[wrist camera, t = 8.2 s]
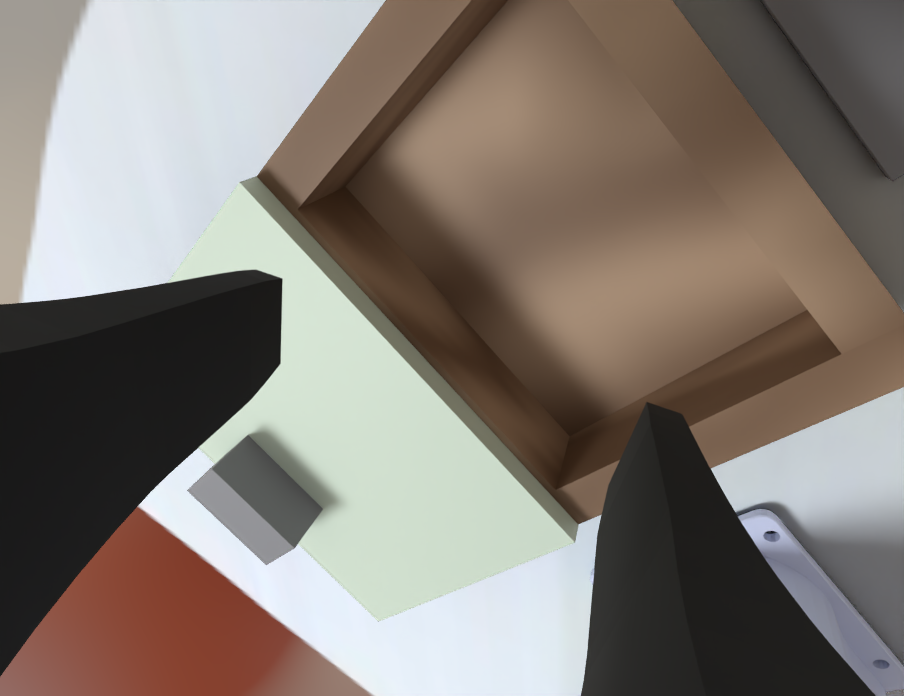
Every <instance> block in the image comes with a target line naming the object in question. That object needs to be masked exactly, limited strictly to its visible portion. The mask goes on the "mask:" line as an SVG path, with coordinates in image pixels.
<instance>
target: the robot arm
mask: <svg viewBox="0 0 904 696" xmlns="http://www.w3.org/2000/svg"><path fill="white" fill-rule="evenodd" d="M282 282H283V278H280V277H277V276H274V275H271V274H268V273H265V272H262V271H259V270H256V269H255V270H242V271H234V272H227V273H220V274H214V275H209V276H203V277H197V278H192V279H187V280H181V281H176V282H170V283H165V284H159V285H154V286H148V287H143V288H136V289H130V290H124V291H117V292H111V293H104V294H98V295H91V296H85V297H77V298H69V299H60V300H51V301H40V302H28V303H17V304H3V305H0V676H1V675H2V673H3V672H4V671H5V669H6V668H7V667H8V665H9V664H10V662H11V661H12V660H13V658H14V657H15V656H16V654H17V653H18V652H19V650H20V649H21V647H22V646H23V644H24V643H25V642H26V641H27V639H28V638H29V636H30V635H31V634H32V632H33V631H34V630H35V628H36V627H37V626H38V625H39V623H40V622H41V621H42V619H43V618H44V617H45V616H46V614H47V613H48V612H49V611H50V609H51V608H52V607H53V606H54V604H55V603H56V602H57V601H58V599H59V598H60V597H61V595H62V594H63V593H64V592H65V591H66V589H67V588H68V587H69V585H70V584H71V583H72V582H73V580H74V579H75V578H76V577H77V575H78V574H79V573H80V572H81V570H82V569H83V568H84V567H85V566H86V565H87V564H88V562H89V561H90V560H91V559H92V558H93V556H94V555H95V554H96V553H97V552H98V550H99V549H100V548H101V547H102V546H103V545H104V544H105V542H106V541H107V540H108V539H109V538H110V536H111V535H112V534H113V533H114V532H115V530H116V529H117V528H118V527H119V526H120V525H121V524H122V523H123V522H124V520H126V518H127V517H128V516H129V515H130V514H131V513H132V512H133V511H134V509H135V508H136V507H137V506H138V505H139V504H140V503H141V502H142V501H143V500H144V499H145V497H146V496H147V495H148V494H149V493H150V492H151V491H152V490H153V489H154V488H155V487H156V486H157V485H158V484H159V483H160V482H161V481H162V480H163V479H164V478H165V477H166V476H167V475H168V474H169V473H170V472H172V471H173V470H174V469H175V468H176V467H177V466H178V465H179V464H181V463H182V462H183V461H184V460H185V459H186V458H187V457H188V456H190V455H191V454H192V453H193V452H194V451H195V450H196V449H197V448H198V447H200V446H201V445H202V444H203V443H204V442H205V441H206V440H207V439H209V438H210V437H211V436H212V435H213V434H214V433H215V432H216V431H218V430H219V429H220V428H221V427H222V426H223V425H224V424H225V423H226V422H227V421H229V420H230V419H231V418H232V417H233V416H234V415H235V414H236V413H237V412H238V411H240V410H241V409H242V408H243V407H244V406H245V405H246V404H247V403H248V402H249V401H250V400H251V399H252V398H253V397H254V396H255V395H256V393H257V392H258V391H259V390H260V389H261V388H262V386H263V385H264V384H265V383H266V382H267V380H268V379H269V378H270V377H271V375H272V374H273V373H274V372H275V370H276V369H277V368H278V366H279V365H280V364H281V325H282ZM767 531H775V532H776V533H774V534H769V533H765V532H767ZM590 581H591V583H592V584H593V591H592V603H591V615H590V627H589V639H588V651H587V660H586V667H585V675H584V682H583V688H582V693H581V696H887V695H886V692H889V691H895V690H901V689H904V666H903V665H902V663H901V662H900V661H899V660H898V659H897V658H896V656H895V655H894V654H893V653H892V652H891V650H890V649H889V648H888V647H887V646H886V645H885V643H884V642H883V641H882V640H881V639H880V637H879V636H878V635H877V634H876V633H875V632H874V630H873V629H872V628H871V627H870V626H869V624H868V623H867V622H866V621H865V620H864V619H863V617H862V616H861V615H860V614H859V613H858V611H857V610H856V609H855V608H854V607H853V606H852V604H851V603H850V602H849V601H848V600H847V598H846V597H845V596H844V595H843V594H842V592H841V591H840V590H839V589H838V588H837V587H836V585H835V584H834V583H833V582H832V581H831V579H830V578H829V577H828V576H827V575H826V574H825V572H824V571H823V570H822V569H821V568H820V566H819V565H818V564H817V563H816V562H815V561H814V559H813V558H812V557H811V556H810V555H809V553H808V552H807V551H806V550H805V549H804V548H803V546H802V545H801V544H800V543H799V542H798V540H797V539H796V538H795V537H794V536H793V535H792V533H791V532H790V531H789V530H788V529H787V527H786V526H785V525H784V524H783V523H782V522H781V520H780V519H779V518H778V517H777V516H776V515H775V514H774V513H773V512H771V511H769V510H766V509H757V510H753V511H750V512H748V513H745V514H742V515H739V516H737V514H736V513H735V511H734V510H733V508H732V506H731V505H730V503H729V501H728V499H727V498H726V496H725V494H724V492H723V491H722V489H721V487H720V485H719V484H718V482H717V480H716V478H715V476H714V474H713V473H712V471H711V469H710V467H709V465H708V463H707V461H706V459H705V457H704V455H703V454H702V452H701V450H700V448H699V446H698V444H697V442H696V440H695V438H694V436H693V434H692V432H691V430H690V428H689V426H688V424H687V422H686V420H685V418H684V416H683V414H681V413H678V412H675V411H672V410H669V409H666V408H663V407H660V406H658V405H655V404H652V403H649V402H646V404H645V406H644V409H643V411H642V413H641V415H640V417H639V420H638V422H637V424H636V426H635V428H634V430H633V433H632V435H631V437H630V439H629V441H628V443H627V446H626V448H625V450H624V452H623V454H622V457H621V459H620V461H619V463H618V465H617V467H616V470H615V472H614V474H613V476H612V478H611V480H610V483H609V485H608V489H607V493H606V498H605V502H604V506H603V511H602V516H601V520H600V525H599V530H598V535H597V546H596V557H595V568H594V569H593V570H592V572H591V576H590Z"/></svg>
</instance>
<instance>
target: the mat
mask: <svg viewBox="0 0 904 696" xmlns="http://www.w3.org/2000/svg"><path fill="white" fill-rule="evenodd" d="M761 2H762V3H763V5H764V6H765V7H766V9H767V10H768V12H769V13H770V14H771V16H772V17H773V19H774V20H775V21H776V23H777V24H778V26H779V27H780V28H781V30H782V31H783V33H784V34H785V35H786V37H787V38H788V40H789V41H790V42H791V44H792V45H793V47H794V48H795V49H796V51H797V52H798V54H799V55H800V56H801V58H802V59H803V61H804V62H805V63H806V65H807V66H808V68H809V69H810V71H811V72H812V73H813V75H814V76H815V78H816V79H817V80H818V82H819V83H820V85H821V86H822V87H823V89H824V90H825V92H826V93H827V94H828V96H829V97H830V99H831V100H832V101H833V103H834V104H835V106H836V107H837V108H838V110H839V111H840V113H841V114H842V115H843V117H844V118H845V120H846V121H847V122H848V124H849V125H850V127H851V128H852V129H853V131H854V132H855V134H856V135H857V136H858V138H859V139H860V141H861V142H862V144H863V145H864V146H865V148H866V149H867V151H868V152H869V153H870V155H871V156H872V158H873V159H874V160H875V162H876V163H877V165H878V166H879V167H880V169H881V170H882V172H883V173H884V174H885V176H886V177H887V178H888V179H890V180H891V181H894V180H895V179H897V178H899V177H900V176H902V175H904V0H761Z"/></svg>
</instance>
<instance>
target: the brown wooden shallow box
mask: <svg viewBox="0 0 904 696" xmlns="http://www.w3.org/2000/svg"><path fill="white" fill-rule="evenodd" d="M257 177H258V178H259V180H260V181H261V182H262V183H263V184H264V185H265V186H266V187H267V188H268V189H269V190H270V191H271V193H272V194H273V195H274V196H275V197H276V198H277V199H278V200H279V201H280V202H281V203H282V204H283V206H284V207H285V208H286V209H287V210H288V211H289V212H290V213H291V214H292V215H293V216H294V217H295V219H296V220H297V221H298V222H299V223H300V224H301V225H302V226H303V227H304V228H305V229H306V230H307V232H308V233H309V234H310V235H311V236H312V237H313V238H314V239H315V240H316V241H317V242H318V243H319V244H320V246H321V247H322V248H323V249H324V250H325V251H326V252H327V253H328V254H329V255H330V256H331V257H332V259H333V260H334V261H335V262H336V263H337V264H338V265H339V266H340V267H341V268H342V269H343V270H344V272H345V273H346V274H347V275H348V276H349V277H350V278H351V279H352V280H353V281H354V282H355V283H356V285H357V286H358V287H359V288H360V289H361V290H362V291H363V292H364V293H365V294H366V295H367V296H368V298H369V299H370V300H371V301H372V302H373V303H374V304H375V305H376V306H377V307H378V308H379V309H380V311H381V312H382V313H383V314H384V315H385V316H386V317H387V318H388V319H389V320H390V321H391V322H392V324H393V325H394V326H395V327H396V328H397V329H398V330H399V331H400V332H401V333H402V334H403V335H404V337H405V338H406V339H407V340H408V341H409V342H410V343H411V344H412V345H413V346H414V347H415V348H416V350H417V351H418V352H419V353H420V354H421V355H422V356H423V357H424V358H425V359H426V360H427V361H428V362H429V364H430V365H431V366H432V367H433V368H434V369H435V370H436V371H437V372H438V373H439V374H440V375H441V377H442V378H443V379H444V380H445V381H446V382H447V383H448V384H449V385H450V386H451V387H452V388H453V390H454V391H455V392H456V393H457V394H458V395H459V396H460V397H461V398H462V399H463V400H464V401H465V403H466V404H467V405H468V406H469V407H470V408H471V409H472V410H473V411H474V412H475V413H476V414H477V416H478V417H479V418H480V419H481V420H482V421H483V422H484V423H485V424H486V425H487V426H488V427H489V429H490V430H491V431H492V432H493V433H494V434H495V435H496V436H497V437H498V438H499V439H500V440H501V442H502V443H503V444H504V445H505V446H506V447H507V448H508V449H509V450H510V451H511V452H512V453H513V455H514V456H515V457H516V458H517V459H518V460H519V461H520V462H521V463H522V464H523V465H524V466H525V467H526V469H527V470H528V471H529V472H530V473H531V474H532V475H533V476H534V477H535V478H536V479H537V480H538V482H539V483H540V484H541V485H542V486H543V487H544V488H545V489H546V490H547V491H548V492H549V493H550V495H551V496H552V497H553V498H554V499H555V500H556V501H557V502H558V503H559V504H560V505H561V506H562V508H563V509H564V510H565V511H566V512H567V513H568V514H569V515H570V516H571V517H572V518H573V519H574V521H575V522H576V523H577V524H580V523H582V522H585V521H587V520H590V519H592V518H594V517H597V516H599V515H601V514H602V511H603V506H604V502H605V498H606V493H607V489H608V485H609V483H610V480H611V478H612V476H613V474H614V472H615V470H616V467H617V465H618V463H619V461H620V459H621V457H622V454H623V452H624V450H625V448H626V446H627V443H628V441H629V439H630V437H631V435H632V433H633V430H634V428H635V426H636V424H637V422H638V420H639V417H640V415H641V413H642V411H643V409H644V406H645V404H646V402H649V403H652V404H655V405H658V406H660V407H663V408H666V409H669V410H672V411H675V412H678V413H681V414H683V416H684V418H685V420H686V422H687V424H688V426H689V428H690V430H691V432H692V434H693V436H694V438H695V440H696V442H697V444H698V446H699V448H700V450H701V452H702V454H703V455H704V457H705V459H706V461H707V463H708V465H709V467H710V468H713V467H715V466H717V465H720V464H722V463H725V462H727V461H729V460H732V459H734V458H736V457H739V456H741V455H743V454H746V453H748V452H751V451H753V450H755V449H758V448H760V447H762V446H765V445H767V444H770V443H772V442H774V441H777V440H779V439H781V438H784V437H786V436H788V435H791V434H793V433H796V432H798V431H800V430H803V429H805V428H807V427H810V426H812V425H815V424H817V423H819V422H822V421H824V420H826V419H829V418H831V417H833V416H836V415H838V414H841V413H843V412H845V411H848V410H850V409H852V408H855V407H857V406H860V405H862V404H864V403H867V402H869V401H871V400H874V399H876V398H878V397H881V396H883V395H886V394H888V393H890V392H893V391H895V390H897V389H900V388H902V387H904V312H903V311H902V310H901V308H900V307H899V306H898V304H897V303H896V302H895V300H894V299H893V298H892V296H891V295H890V293H889V292H888V291H887V289H886V288H885V287H884V285H883V284H882V283H881V281H880V280H879V279H878V277H877V276H876V275H875V273H874V272H873V271H872V269H871V268H870V266H869V265H868V264H867V262H866V261H865V260H864V258H863V257H862V256H861V254H860V253H859V252H858V250H857V249H856V248H855V246H854V245H853V244H852V242H851V241H850V239H849V238H848V237H847V235H846V234H845V233H844V231H843V230H842V229H841V227H840V226H839V225H838V223H837V222H836V221H835V219H834V218H833V216H832V215H831V214H830V212H829V211H828V210H827V208H826V207H825V206H824V204H823V203H822V202H821V200H820V199H819V198H818V196H817V195H816V194H815V192H814V191H813V189H812V188H811V187H810V185H809V184H808V183H807V181H806V180H805V179H804V177H803V176H802V175H801V173H800V172H799V171H798V169H797V168H796V167H795V165H794V164H793V162H792V161H791V160H790V158H789V157H788V156H787V154H786V153H785V152H784V150H783V149H782V148H781V146H780V145H779V144H778V142H777V141H776V139H775V138H774V137H773V135H772V134H771V133H770V131H769V130H768V129H767V127H766V126H765V125H764V123H763V122H762V121H761V119H760V118H759V117H758V115H757V114H756V112H755V111H754V110H753V108H752V107H751V106H750V104H749V103H748V102H747V100H746V99H745V98H744V96H743V95H742V94H741V92H740V91H739V90H738V88H737V87H736V85H735V84H734V83H733V81H732V80H731V79H730V77H729V76H728V75H727V73H726V72H725V71H724V69H723V68H722V67H721V65H720V64H719V62H718V61H717V60H716V58H715V57H714V56H713V54H712V53H711V52H710V50H709V49H708V48H707V46H706V45H705V44H704V42H703V41H702V40H701V38H700V37H699V35H698V34H697V33H696V31H695V30H694V29H693V27H692V26H691V25H690V23H689V22H688V21H687V19H686V18H685V17H684V15H683V14H682V13H681V11H680V10H679V8H678V7H677V6H676V4H675V3H674V2H673V0H386V1H385V2H384V4H383V5H382V6H381V8H380V9H379V11H378V12H377V13H376V15H375V16H374V17H373V19H372V20H371V21H370V23H369V24H368V26H367V27H366V28H365V30H364V31H363V32H362V34H361V35H360V36H359V38H358V39H357V41H356V42H355V43H354V45H353V46H352V47H351V49H350V50H349V51H348V53H347V54H346V56H345V57H344V58H343V60H342V61H341V62H340V64H339V65H338V66H337V68H336V69H335V71H334V72H333V73H332V75H331V76H330V77H329V79H328V80H327V81H326V83H325V84H324V86H323V87H322V88H321V90H320V91H319V92H318V94H317V95H316V96H315V98H314V99H313V101H312V102H311V103H310V105H309V106H308V107H307V109H306V110H305V111H304V113H303V114H302V116H301V117H300V118H299V120H298V121H297V122H296V124H295V125H294V126H293V128H292V129H291V131H290V132H289V133H288V135H287V136H286V137H285V139H284V140H283V141H282V143H281V144H280V146H279V147H278V148H277V150H276V151H275V152H274V154H273V155H272V156H271V158H270V159H269V161H268V162H267V163H266V165H265V166H264V167H263V169H262V170H261V171H260V173H259V174H258V176H257Z"/></svg>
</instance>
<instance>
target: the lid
mask: <svg viewBox="0 0 904 696" xmlns="http://www.w3.org/2000/svg"><path fill="white" fill-rule="evenodd" d="M255 269H256V270H259V271H262V272H265V273H268V274H271V275H274V276H277V277H280V278H283V282H282V325H281V364H280V365H279V366H278V368H277V369H276V370H275V372H274V373H273V374H272V375H271V377H270V378H269V379H268V380H267V382H266V383H265V384H264V385H263V386H262V388H261V389H260V390H259V391H258V392H257V393H256V395H255V396H254V397H253V398H252V399H251V400H250V401H249V402H248V403H247V404H246V405H245V406H244V407H243V408H242V409H241V410H240V411H238V412H237V413H236V414H235V415H234V416H233V417H232V418H231V419H230V420H229V421H227V422H226V423H225V424H224V425H223V426H222V427H221V428H220V429H219V430H218V431H216V432H215V433H214V434H213V435H212V436H211V437H210V438H209V439H207V440H206V441H205V442H204V443H203V444H202V445H201V446H200V447H198V448H199V449H200V450H201V451H202V452H203V453H204V454H205V455H206V456H207V457H208V458H209V459H210V460H211V461H212V462H213V463H214V464H215V465H214V466H212V467H211V468H210V469H209V470H208V471H207V472H206V473H205V474H204V475H203V476H202V477H201V478H200V479H199V480H198V481H197V482H196V483H195V484H193V485H192V486H191V487H190V488H189V489H188V490H187V491H188V492H189V493H190V494H191V495H193V496H194V497H195V498H196V499H197V500H198V501H199V502H200V503H201V504H202V505H203V506H204V507H205V508H206V509H207V510H208V511H209V512H211V513H212V514H213V515H214V516H215V517H216V518H217V519H218V520H219V521H220V522H221V523H222V524H223V525H224V526H225V527H226V528H227V529H229V530H230V531H231V532H232V533H233V534H234V535H235V536H236V537H237V538H238V539H239V540H240V541H241V542H242V543H243V544H244V545H245V546H247V547H248V548H249V549H250V550H251V551H252V552H253V553H254V554H255V555H256V556H257V557H258V558H259V559H260V560H261V561H262V562H263V563H265V564H266V565H267V564H269V563H271V562H272V561H274V560H276V559H277V558H279V557H281V556H282V555H284V554H286V553H287V552H289V551H291V550H293V549H294V548H295V547H296V546H297V544H299V545H300V546H301V547H302V548H303V549H304V550H305V551H306V552H307V553H308V554H309V555H310V556H311V557H312V558H313V559H314V560H315V561H316V562H317V563H318V564H319V565H320V566H321V567H322V568H323V569H324V570H325V571H327V572H328V573H329V574H330V575H331V576H332V577H333V578H334V579H335V580H336V581H337V582H338V583H339V584H340V585H341V586H342V587H343V588H344V589H345V590H346V591H347V592H348V593H349V594H350V595H351V596H352V597H354V598H355V599H356V600H357V601H358V602H359V603H360V604H361V605H362V606H363V607H364V608H365V609H366V610H367V611H368V612H369V613H370V614H371V615H372V616H373V617H374V618H375V619H376V620H377V621H378V622H379V621H381V620H384V619H386V618H389V617H391V616H394V615H396V614H399V613H401V612H403V611H406V610H408V609H411V608H413V607H416V606H418V605H421V604H423V603H426V602H428V601H431V600H433V599H436V598H438V597H441V596H443V595H446V594H448V593H451V592H453V591H456V590H458V589H461V588H463V587H466V586H468V585H471V584H473V583H476V582H478V581H481V580H483V579H486V578H488V577H491V576H493V575H496V574H498V573H501V572H503V571H506V570H508V569H510V568H513V567H515V566H518V565H520V564H523V563H525V562H528V561H530V560H533V559H535V558H538V557H540V556H543V555H545V554H548V553H550V552H553V551H555V550H558V549H560V548H563V547H565V546H568V545H570V544H573V543H575V540H576V535H577V530H578V524H577V523H576V522H575V521H574V519H573V518H572V517H571V516H570V515H569V514H568V513H567V512H566V511H565V510H564V509H563V508H562V506H561V505H560V504H559V503H558V502H557V501H556V500H555V499H554V498H553V497H552V496H551V495H550V493H549V492H548V491H547V490H546V489H545V488H544V487H543V486H542V485H541V484H540V483H539V482H538V480H537V479H536V478H535V477H534V476H533V475H532V474H531V473H530V472H529V471H528V470H527V469H526V467H525V466H524V465H523V464H522V463H521V462H520V461H519V460H518V459H517V458H516V457H515V456H514V455H513V453H512V452H511V451H510V450H509V449H508V448H507V447H506V446H505V445H504V444H503V443H502V442H501V440H500V439H499V438H498V437H497V436H496V435H495V434H494V433H493V432H492V431H491V430H490V429H489V427H488V426H487V425H486V424H485V423H484V422H483V421H482V420H481V419H480V418H479V417H478V416H477V414H476V413H475V412H474V411H473V410H472V409H471V408H470V407H469V406H468V405H467V404H466V403H465V401H464V400H463V399H462V398H461V397H460V396H459V395H458V394H457V393H456V392H455V391H454V390H453V388H452V387H451V386H450V385H449V384H448V383H447V382H446V381H445V380H444V379H443V378H442V377H441V375H440V374H439V373H438V372H437V371H436V370H435V369H434V368H433V367H432V366H431V365H430V364H429V362H428V361H427V360H426V359H425V358H424V357H423V356H422V355H421V354H420V353H419V352H418V351H417V350H416V348H415V347H414V346H413V345H412V344H411V343H410V342H409V341H408V340H407V339H406V338H405V337H404V335H403V334H402V333H401V332H400V331H399V330H398V329H397V328H396V327H395V326H394V325H393V324H392V322H391V321H390V320H389V319H388V318H387V317H386V316H385V315H384V314H383V313H382V312H381V311H380V309H379V308H378V307H377V306H376V305H375V304H374V303H373V302H372V301H371V300H370V299H369V298H368V296H367V295H366V294H365V293H364V292H363V291H362V290H361V289H360V288H359V287H358V286H357V285H356V283H355V282H354V281H353V280H352V279H351V278H350V277H349V276H348V275H347V274H346V273H345V272H344V270H343V269H342V268H341V267H340V266H339V265H338V264H337V263H336V262H335V261H334V260H333V259H332V257H331V256H330V255H329V254H328V253H327V252H326V251H325V250H324V249H323V248H322V247H321V246H320V244H319V243H318V242H317V241H316V240H315V239H314V238H313V237H312V236H311V235H310V234H309V233H308V232H307V230H306V229H305V228H304V227H303V226H302V225H301V224H300V223H299V222H298V221H297V220H296V219H295V217H294V216H293V215H292V214H291V213H290V212H289V211H288V210H287V209H286V208H285V207H284V206H283V204H282V203H281V202H280V201H279V200H278V199H277V198H276V197H275V196H274V195H273V194H272V193H271V191H270V190H269V189H268V188H267V187H266V186H265V185H264V184H263V183H262V182H261V181H260V180H259V178H258V177H257V176H256V177H253V178H250V179H247V180H245V181H242V182H239V184H238V185H237V186H236V188H235V189H234V191H233V192H232V193H231V195H230V196H229V198H228V199H227V200H226V202H225V203H224V205H223V206H222V207H221V209H220V210H219V212H218V213H217V214H216V216H215V217H214V219H213V220H212V221H211V223H210V224H209V226H208V227H207V228H206V230H205V231H204V233H203V234H202V235H201V237H200V238H199V240H198V241H197V242H196V244H195V245H194V247H193V248H192V249H191V251H190V252H189V254H188V255H187V256H186V258H185V259H184V261H183V262H182V263H181V265H180V266H179V268H178V269H177V270H176V272H175V273H174V275H173V276H172V277H171V279H170V280H169V282H168V283H170V282H176V281H181V280H187V279H192V278H197V277H203V276H209V275H214V274H220V273H227V272H234V271H242V270H255Z"/></svg>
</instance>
